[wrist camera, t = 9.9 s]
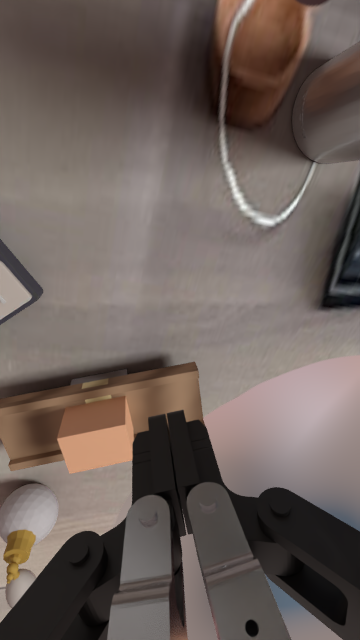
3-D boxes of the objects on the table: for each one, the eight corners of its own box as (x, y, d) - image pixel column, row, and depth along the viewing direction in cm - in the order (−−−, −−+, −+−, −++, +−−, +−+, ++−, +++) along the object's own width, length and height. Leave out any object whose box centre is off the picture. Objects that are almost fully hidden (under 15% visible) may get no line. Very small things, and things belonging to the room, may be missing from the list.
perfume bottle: (41, 465, 45) (13, 555, 34) (81, 503, 49) (68, 594, 38) (-4, 488, 45) (-46, 585, 34) (39, 525, 49) (14, 622, 38)
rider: (125, 395, 37) (125, 424, 33) (133, 428, 39) (134, 459, 35) (65, 407, 37) (56, 438, 32) (76, 440, 39) (69, 473, 34)
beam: (190, 350, 41) (198, 370, 37) (197, 405, 45) (205, 430, 40) (0, 385, 39) (-17, 411, 34) (23, 440, 43) (11, 471, 38)
